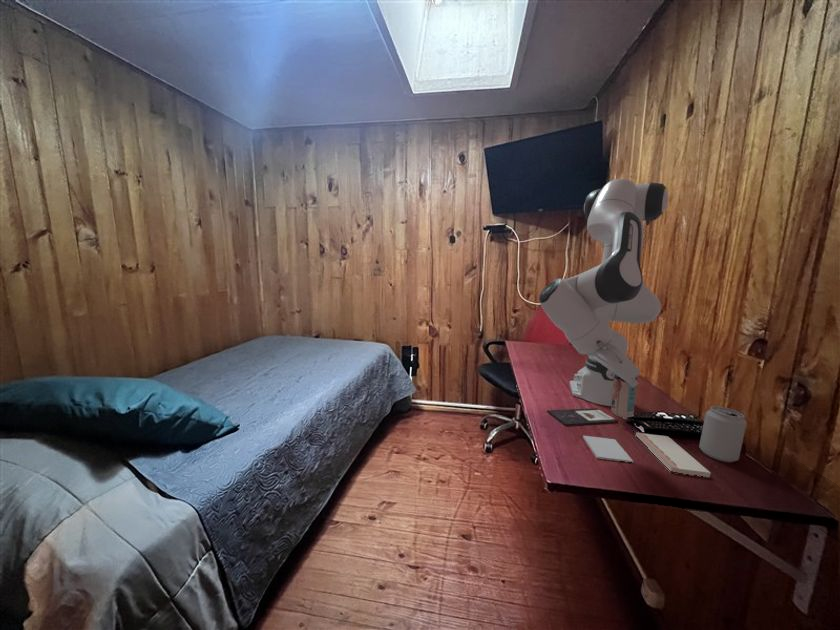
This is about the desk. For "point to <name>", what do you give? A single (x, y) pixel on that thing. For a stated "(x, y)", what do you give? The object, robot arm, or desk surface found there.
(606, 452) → the mat
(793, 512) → the desk surface
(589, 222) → the robot arm
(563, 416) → the chocolate bar
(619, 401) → the jar with lid
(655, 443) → the board
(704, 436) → the can
